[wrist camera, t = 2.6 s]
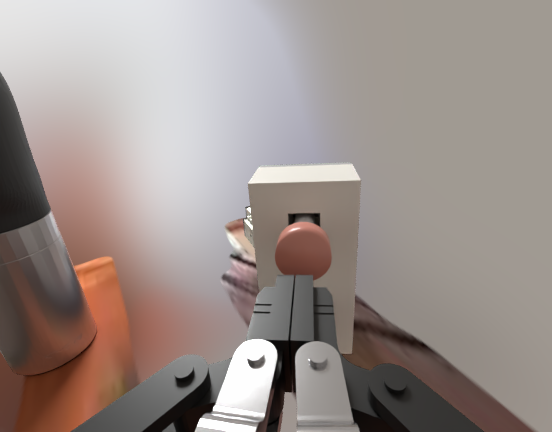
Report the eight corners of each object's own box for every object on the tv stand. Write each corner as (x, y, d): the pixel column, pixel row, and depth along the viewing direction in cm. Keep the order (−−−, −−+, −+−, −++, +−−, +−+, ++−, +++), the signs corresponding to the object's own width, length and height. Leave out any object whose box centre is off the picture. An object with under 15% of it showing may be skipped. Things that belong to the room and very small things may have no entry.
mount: (265, 350, 35) (247, 183, 27) (272, 310, 41) (259, 165, 33) (351, 354, 33) (361, 180, 25) (345, 312, 40) (351, 162, 32)
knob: (276, 281, 24) (273, 233, 22) (284, 236, 31) (282, 197, 29) (331, 282, 23) (332, 232, 22) (326, 236, 31) (326, 196, 29)
